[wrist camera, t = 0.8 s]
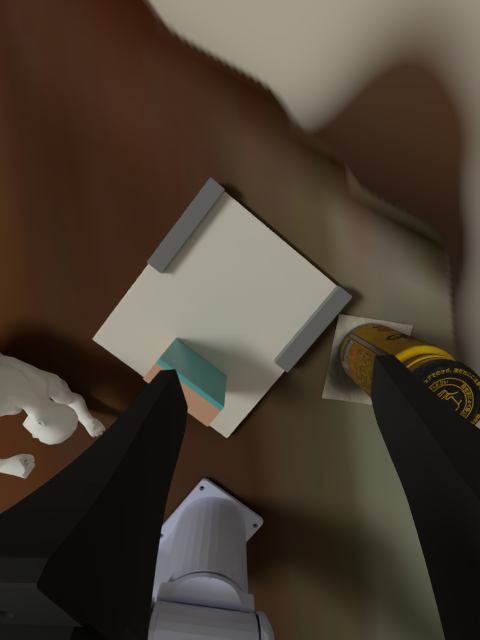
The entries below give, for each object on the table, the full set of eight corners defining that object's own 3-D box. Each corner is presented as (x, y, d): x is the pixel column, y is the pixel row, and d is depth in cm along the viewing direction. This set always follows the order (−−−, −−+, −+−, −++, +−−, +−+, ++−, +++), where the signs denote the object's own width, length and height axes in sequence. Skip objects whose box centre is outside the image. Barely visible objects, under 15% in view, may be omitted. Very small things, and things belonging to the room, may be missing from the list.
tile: (213, 391, 32) (207, 426, 25) (163, 353, 31) (142, 379, 24) (226, 375, 31) (224, 407, 24) (176, 337, 31) (159, 358, 24)
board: (227, 434, 33) (226, 443, 31) (95, 337, 31) (87, 341, 30) (345, 295, 31) (352, 296, 29) (212, 182, 29) (210, 177, 27)
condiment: (412, 325, 32) (517, 360, 20) (392, 407, 33) (479, 486, 21) (338, 313, 31) (400, 342, 20) (320, 396, 33) (368, 470, 21)
